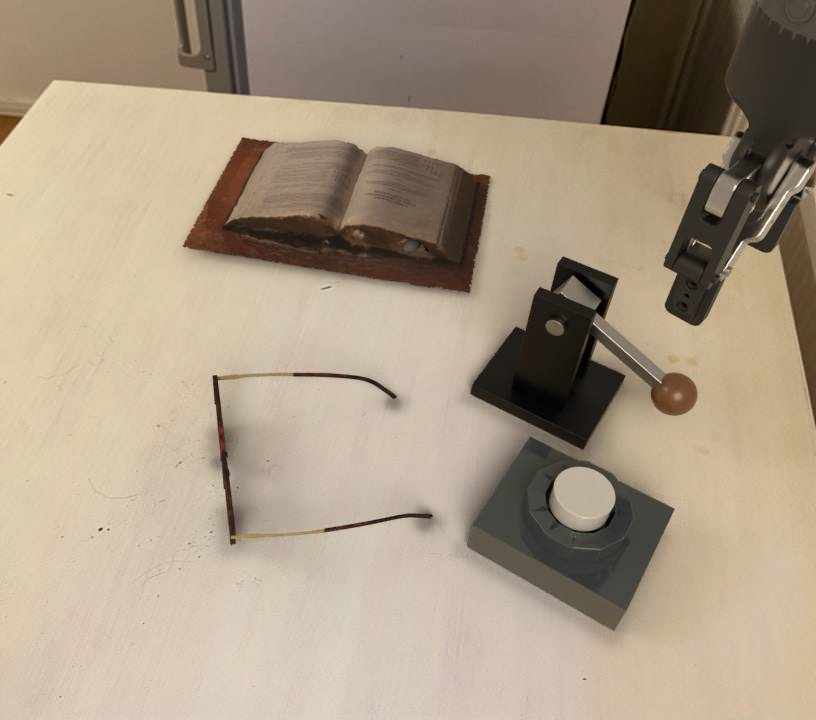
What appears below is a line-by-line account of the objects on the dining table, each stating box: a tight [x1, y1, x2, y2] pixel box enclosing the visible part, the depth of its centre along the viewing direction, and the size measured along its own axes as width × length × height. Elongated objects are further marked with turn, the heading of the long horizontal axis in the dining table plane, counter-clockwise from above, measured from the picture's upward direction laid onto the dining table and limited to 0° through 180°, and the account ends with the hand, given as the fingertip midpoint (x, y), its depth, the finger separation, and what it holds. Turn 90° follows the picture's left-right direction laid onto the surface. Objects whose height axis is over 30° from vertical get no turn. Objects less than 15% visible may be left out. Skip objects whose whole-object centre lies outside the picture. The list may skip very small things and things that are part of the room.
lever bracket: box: [470, 255, 627, 451], centre depth 63 cm, size 10×8×12 cm
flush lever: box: [554, 276, 699, 417], centre depth 60 cm, size 13×3×3 cm, turn 56°
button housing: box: [467, 436, 675, 632], centre depth 56 cm, size 11×9×5 cm
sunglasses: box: [212, 372, 434, 547], centre depth 61 cm, size 14×15×5 cm
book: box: [181, 136, 492, 294], centre depth 82 cm, size 20×28×4 cm
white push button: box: [549, 467, 616, 531], centre depth 54 cm, size 4×4×2 cm
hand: (720, 278), depth 47 cm, fingers open, 8 cm apart
